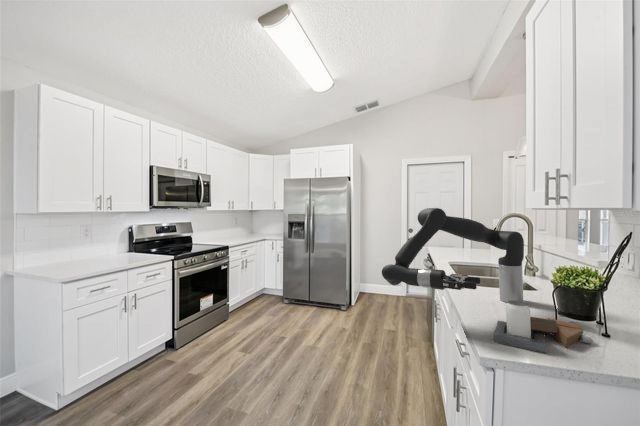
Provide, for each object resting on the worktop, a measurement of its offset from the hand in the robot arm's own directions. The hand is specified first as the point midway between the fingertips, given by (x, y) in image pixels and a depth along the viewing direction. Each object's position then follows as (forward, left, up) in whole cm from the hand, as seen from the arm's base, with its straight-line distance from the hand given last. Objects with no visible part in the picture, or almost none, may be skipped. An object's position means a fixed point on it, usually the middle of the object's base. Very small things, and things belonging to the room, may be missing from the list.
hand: (478, 283), depth 97 cm
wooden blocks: (-6, +21, -18) cm, 28 cm away
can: (0, +11, -17) cm, 20 cm away
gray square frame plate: (0, +11, -17) cm, 20 cm away
